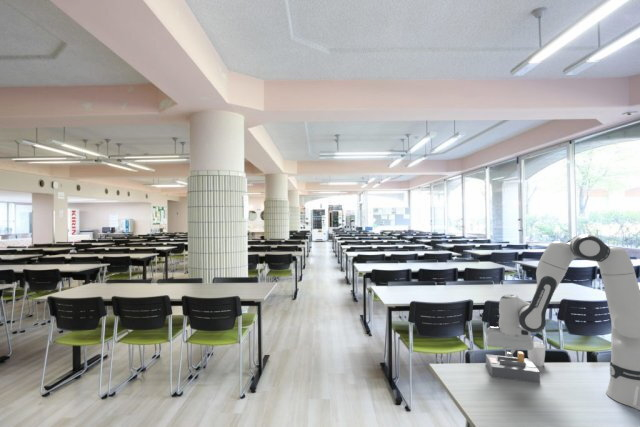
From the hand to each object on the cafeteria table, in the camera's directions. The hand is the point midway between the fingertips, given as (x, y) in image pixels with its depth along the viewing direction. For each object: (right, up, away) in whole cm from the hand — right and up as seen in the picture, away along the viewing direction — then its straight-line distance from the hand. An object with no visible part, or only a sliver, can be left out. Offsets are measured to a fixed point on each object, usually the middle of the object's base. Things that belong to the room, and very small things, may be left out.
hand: (508, 356), depth 163 cm
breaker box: (+1, -8, 0) cm, 8 cm away
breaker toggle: (+5, -3, -1) cm, 6 cm away
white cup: (+19, -8, +9) cm, 23 cm away
